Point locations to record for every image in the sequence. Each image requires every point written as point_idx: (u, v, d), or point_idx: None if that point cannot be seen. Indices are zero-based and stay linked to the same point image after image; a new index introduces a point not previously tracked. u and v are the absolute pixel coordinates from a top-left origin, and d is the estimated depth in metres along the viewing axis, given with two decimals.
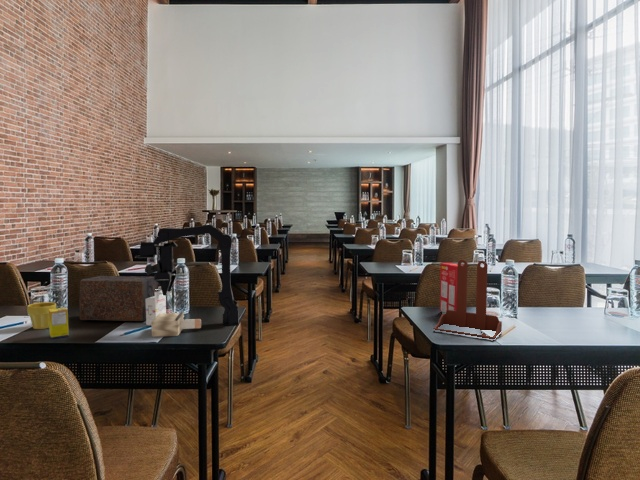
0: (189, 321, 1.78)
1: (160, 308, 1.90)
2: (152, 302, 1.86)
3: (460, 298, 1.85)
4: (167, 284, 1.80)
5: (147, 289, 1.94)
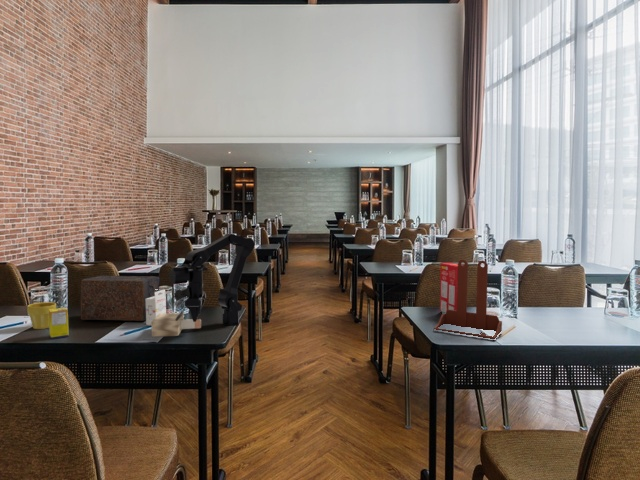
0: (189, 321, 1.78)
1: (160, 308, 1.90)
2: (152, 302, 1.86)
3: (461, 298, 1.85)
4: (197, 310, 1.73)
5: (148, 289, 1.95)
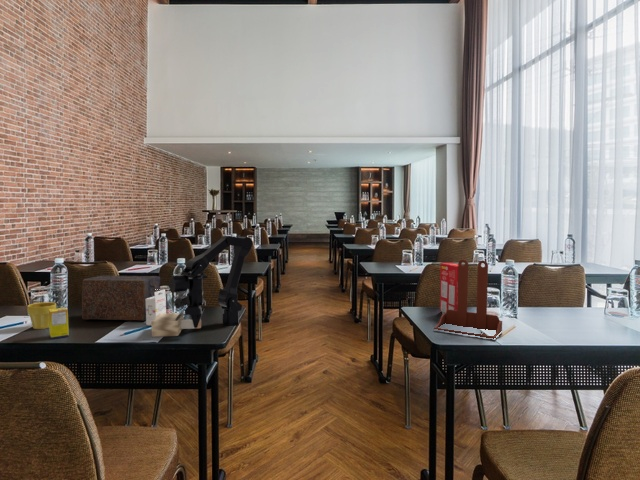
0: (189, 321, 1.78)
1: (160, 308, 1.90)
2: (152, 302, 1.86)
3: (461, 298, 1.85)
4: (199, 316, 1.77)
5: (149, 289, 1.96)
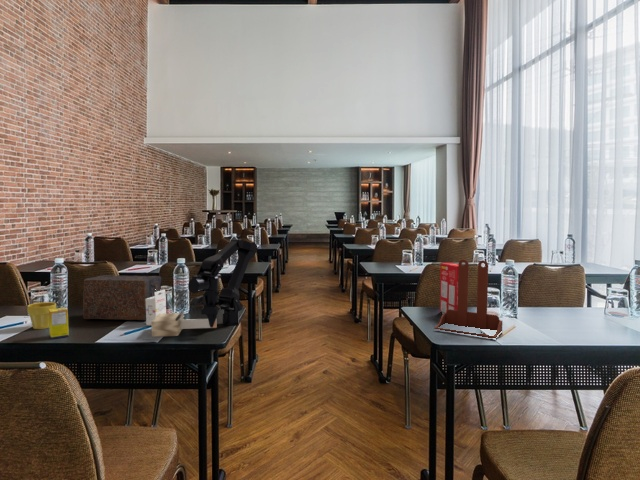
0: (205, 321, 1.79)
1: (160, 308, 1.90)
2: (152, 302, 1.86)
3: (461, 298, 1.86)
4: (214, 316, 1.78)
5: (150, 288, 1.96)
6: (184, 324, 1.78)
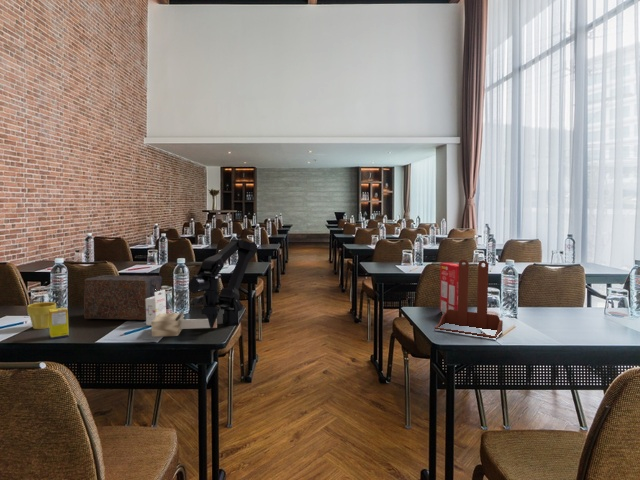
0: (205, 321, 1.79)
1: (160, 308, 1.90)
2: (152, 302, 1.86)
3: (461, 298, 1.86)
4: (214, 316, 1.77)
5: (150, 288, 1.97)
6: (185, 324, 1.78)
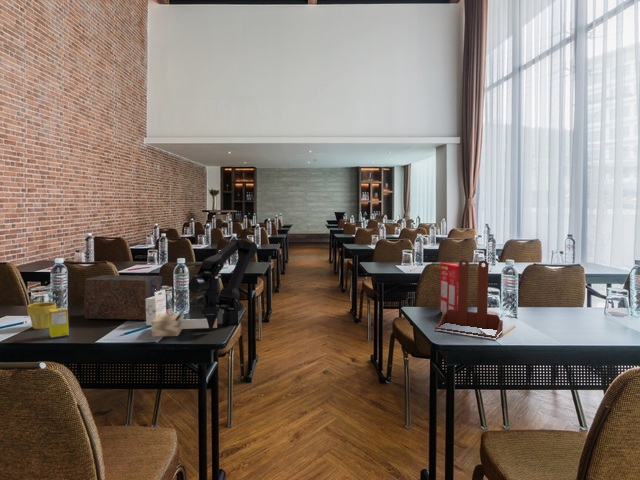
0: (205, 321, 1.79)
1: (160, 308, 1.90)
2: (152, 302, 1.86)
3: (462, 297, 1.86)
4: (214, 318, 1.74)
5: (150, 288, 1.97)
6: (185, 324, 1.78)
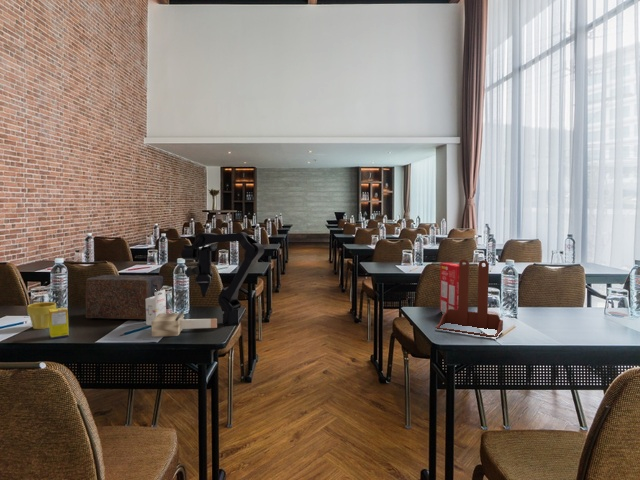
0: (205, 321, 1.79)
1: (160, 308, 1.90)
2: (152, 302, 1.86)
3: (462, 297, 1.87)
4: (207, 286, 1.88)
5: (151, 288, 1.98)
6: (185, 324, 1.78)
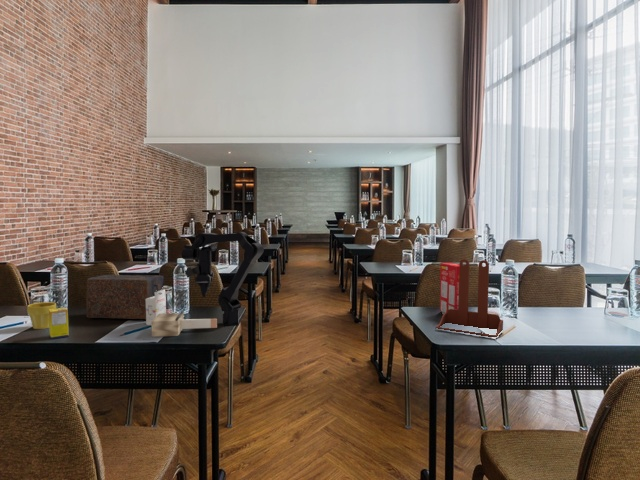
0: (205, 321, 1.79)
1: (160, 308, 1.90)
2: (152, 302, 1.86)
3: (462, 297, 1.87)
4: (207, 286, 1.89)
5: (152, 288, 1.98)
6: (185, 324, 1.78)
